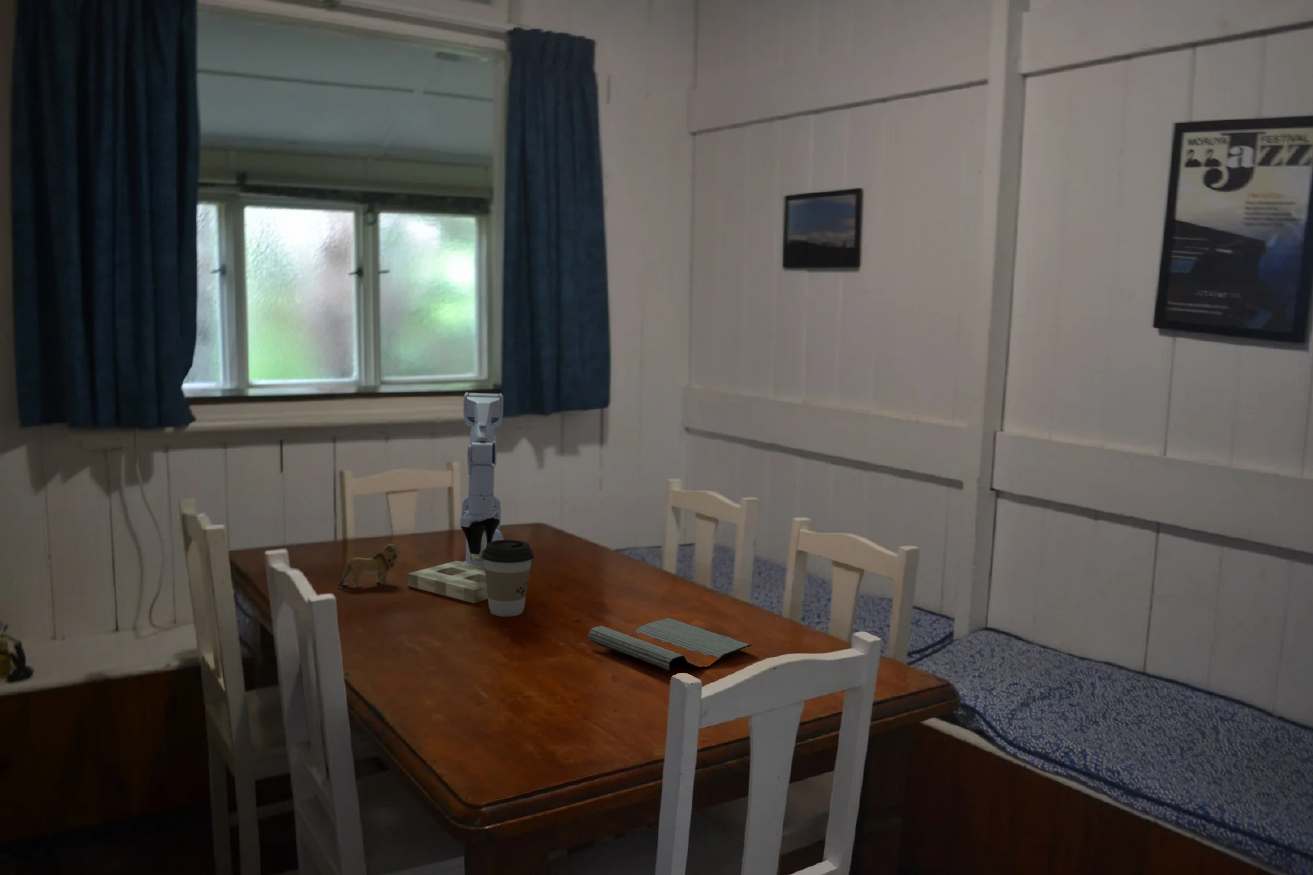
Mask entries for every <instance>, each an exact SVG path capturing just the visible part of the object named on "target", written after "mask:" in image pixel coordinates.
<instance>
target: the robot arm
mask: <svg viewBox="0 0 1313 875" xmlns="http://www.w3.org/2000/svg"><path fill="white" fill-rule="evenodd" d="M503 417H504V395H503V394H502V393H501V392H500V393H486V392H485V393H484V392H483V393H479V392H467V391H466V392H465V393H464V394H463V418H464V419H463V421H464V423H465V426H467V427H469V428H471V429H470V432H469V433H470V435H469V436H470V437H469V444H467V451H466V452H467V453H466V454H467V458H466V459H467V460H466V463H467V468H468V469H467V470H468V471H467V472H468V473H467V474H468V495H467V496H465V497H464V498H463V500H462V504H461V517H460V520H459V521H460V522H459V523H460V524H459V527H460V528H461V530H462V531H463V533H464V536H465V542H466V543H465V544H466V545H465V561H463V562H464V563H469V564H473V565H477V566H481V567H485V565H484V562H471V561H470V554H477V555H478V554H479V553H480V549H481V541H482V536H483V533H484V530H485V529H486V530H487V544H488V543H489V542H492V541H496V540H505V538H504V535H503V533H502V531H501V530H499V529H500V528H501V522H502V521H501V518H502V516H501V515H502V514H501V513H502V512H501V511H502V510H501V508H502V507H501V501H500V498H499V497H497V496H496V495H495V493H494V491H495V489H494V488H495V467H496V465H497V443H496V434H495V433H496V432H495V429H496V428H498V427H500V426H502V423H503ZM493 465H494V466H493Z"/></svg>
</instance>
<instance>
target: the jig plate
mask: <svg viewBox="0 0 1313 875" xmlns="http://www.w3.org/2000/svg"><path fill="white" fill-rule="evenodd" d="M464 562H465V561H459V560H454V561H451V562H447V563H443V564H439V565H435V566H431V567H427V568H423V569H419V570H416V571H412V572H409V573H407V587H410V588H411V587H412V588H414V589H417V590H418V589H419V590H422V591H425V592H426V591H427V592H429V593H430V592H431V593H433V594H437V595H441V596H444V597H450V598H453V599H456V600H460V601H465V602H467V603H472V604H476V603H479V602H482V601H486V600H488V593H487V584H486V574H485V567H481V566H477V565H473V564H469V563H464Z"/></svg>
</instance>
